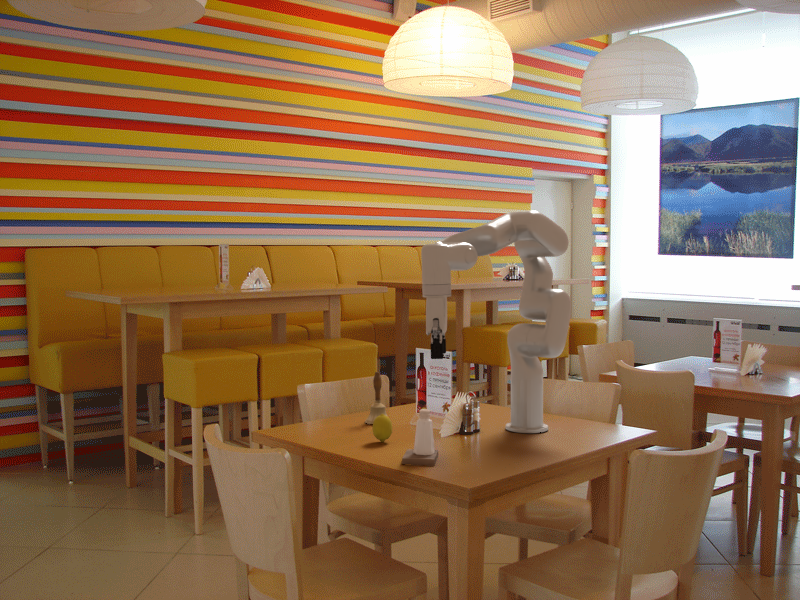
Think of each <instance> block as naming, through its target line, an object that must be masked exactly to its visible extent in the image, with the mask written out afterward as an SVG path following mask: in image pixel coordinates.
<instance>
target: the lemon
mask: <svg viewBox="0 0 800 600" xmlns="http://www.w3.org/2000/svg"><path fill="white" fill-rule="evenodd" d="M387 416H388V415H387ZM387 416H386V415H384V414H381V415H379V416H377V417H376V418H375V420H374V422H373V425H372V434H373V436H374V437H375V438H376V440H378V441H380V443H384V442H385V441H387V440H388V439H390V438H391V435H392V433H393V424H392V421H391V420H392V419H390V417H389V416H388V417H387Z"/></svg>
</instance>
